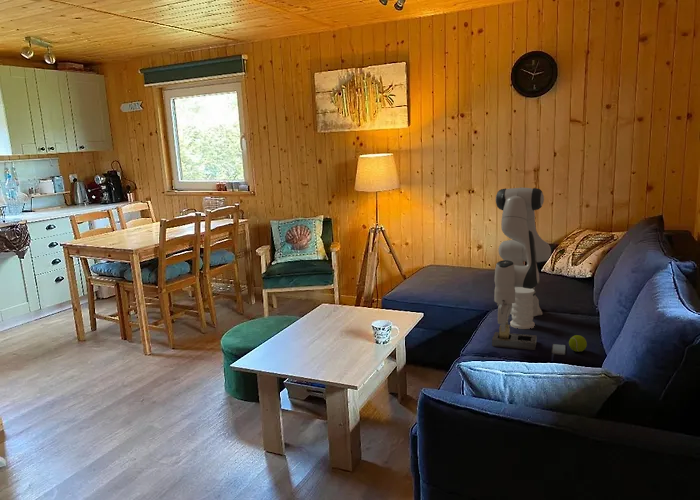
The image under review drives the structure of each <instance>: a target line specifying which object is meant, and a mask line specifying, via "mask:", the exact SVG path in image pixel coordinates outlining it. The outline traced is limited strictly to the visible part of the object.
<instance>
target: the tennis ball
mask: <svg viewBox="0 0 700 500" xmlns="http://www.w3.org/2000/svg"><path fill="white" fill-rule="evenodd" d="M568 345H569V349H571V350H572V351H574V352H576V353H577V352H578V353H580V352H583V351H585V350H586V348H587V346H588V343H587V339H586V338H585V337H584V336H582V335H577V334H576V335H573V336H571V337H570V338H569V341H568Z"/></svg>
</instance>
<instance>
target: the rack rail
mask: <svg viewBox="0 0 700 500" xmlns="http://www.w3.org/2000/svg"><path fill="white" fill-rule="evenodd" d="M536 345H537V335H536V334H535V335H534V334H522V333H513V332H512V333H511V332H510V339H501V338H499V331H495V332H494V334H493V336H492V338H491V346H492V347H498V348H499V347H501V348H511V349H519V350H530V351H536V348H537V347H536Z"/></svg>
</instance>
